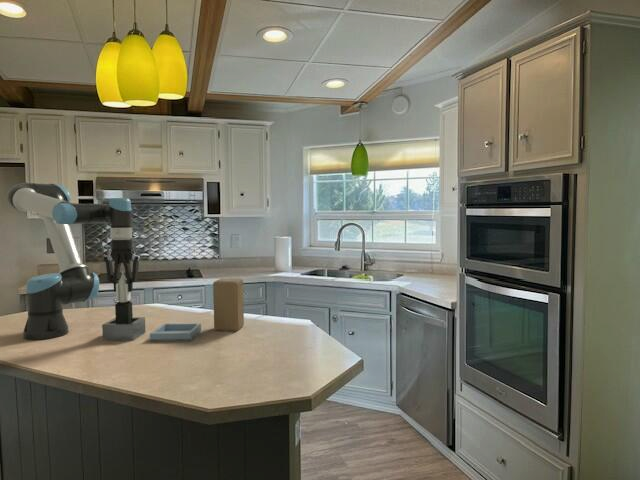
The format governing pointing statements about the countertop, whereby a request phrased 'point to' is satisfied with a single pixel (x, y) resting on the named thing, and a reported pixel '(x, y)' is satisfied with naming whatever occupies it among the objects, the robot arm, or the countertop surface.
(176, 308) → the countertop surface
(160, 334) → the tray
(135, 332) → the collar
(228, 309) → the wooden block
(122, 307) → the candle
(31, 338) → the robot arm
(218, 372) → the countertop surface
